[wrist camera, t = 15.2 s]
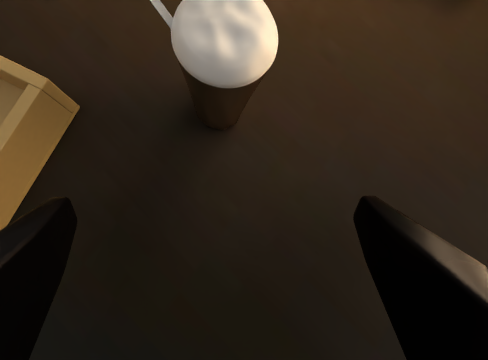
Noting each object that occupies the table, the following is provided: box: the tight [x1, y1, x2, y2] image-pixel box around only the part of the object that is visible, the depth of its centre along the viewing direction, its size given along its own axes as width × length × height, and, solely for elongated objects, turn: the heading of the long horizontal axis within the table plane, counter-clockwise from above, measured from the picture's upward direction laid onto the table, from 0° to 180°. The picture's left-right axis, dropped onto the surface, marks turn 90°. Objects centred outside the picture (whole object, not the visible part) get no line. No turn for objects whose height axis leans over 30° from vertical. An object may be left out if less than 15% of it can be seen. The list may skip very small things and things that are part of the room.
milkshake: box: [149, 0, 278, 130], centre depth 15 cm, size 4×5×10 cm
